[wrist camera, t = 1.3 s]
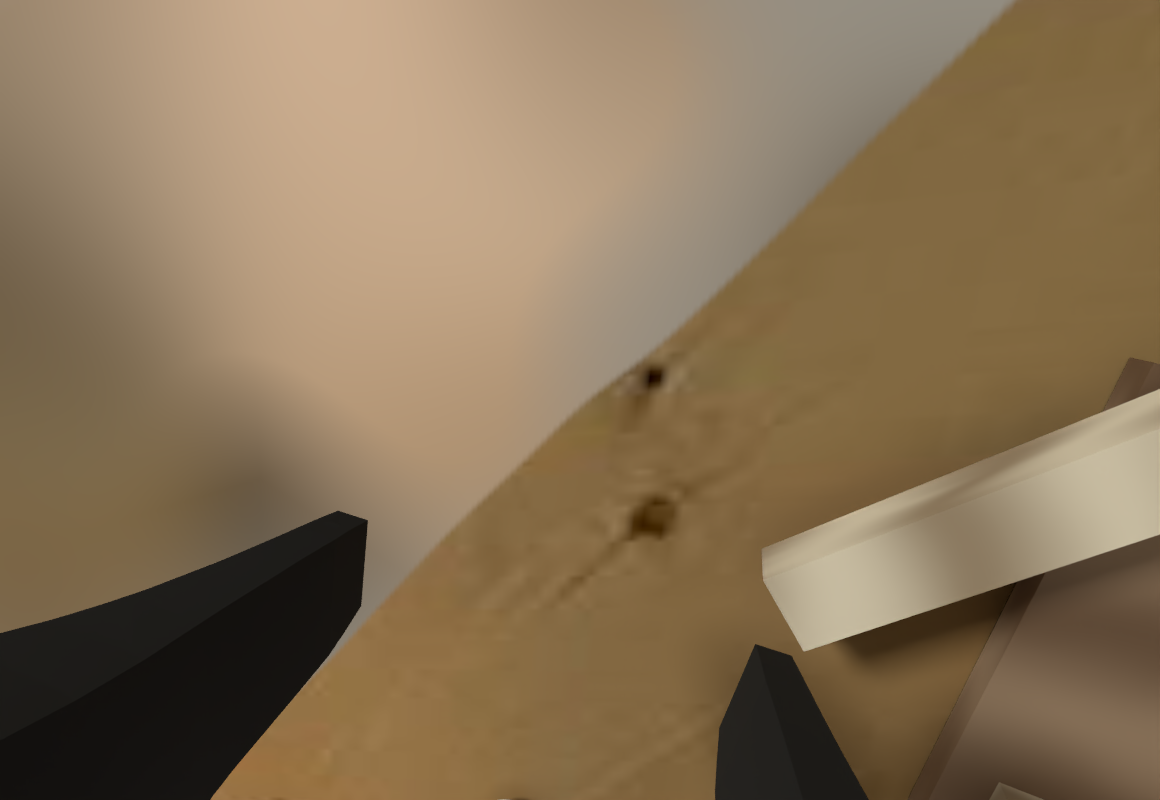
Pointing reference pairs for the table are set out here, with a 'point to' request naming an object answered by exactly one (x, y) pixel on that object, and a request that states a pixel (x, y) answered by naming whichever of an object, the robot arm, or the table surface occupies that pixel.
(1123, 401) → the stool seat
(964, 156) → the table surface
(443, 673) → the table surface
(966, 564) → the hinged leg
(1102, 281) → the table surface
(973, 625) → the table surface
